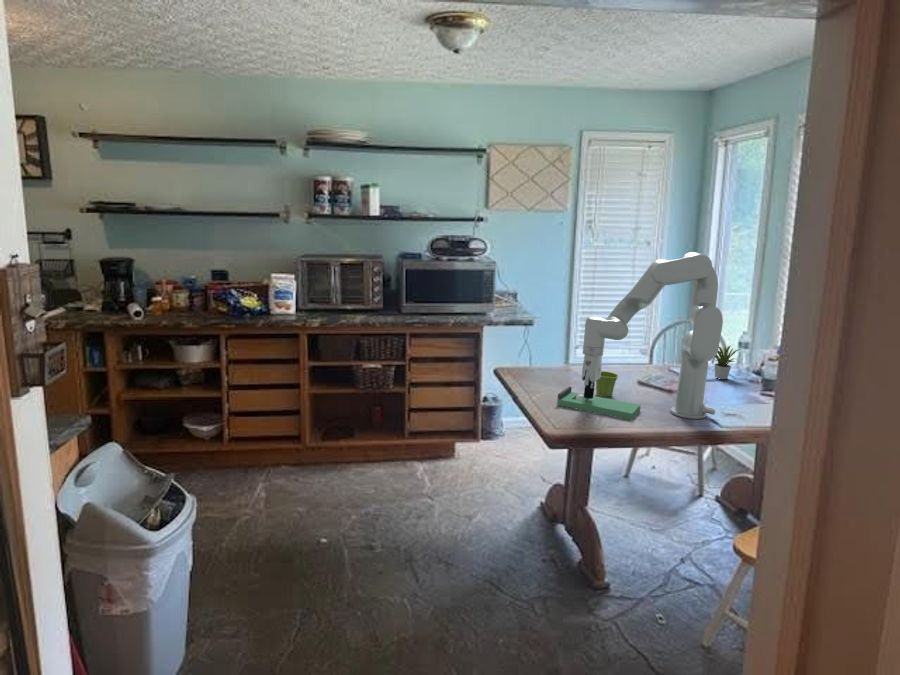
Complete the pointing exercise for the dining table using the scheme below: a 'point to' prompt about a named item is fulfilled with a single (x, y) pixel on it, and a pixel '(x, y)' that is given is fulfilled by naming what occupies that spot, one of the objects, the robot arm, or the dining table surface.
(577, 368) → the dining table surface
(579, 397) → the ball
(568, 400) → the green
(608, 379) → the plant pot
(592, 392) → the robot arm
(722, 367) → the house plant
